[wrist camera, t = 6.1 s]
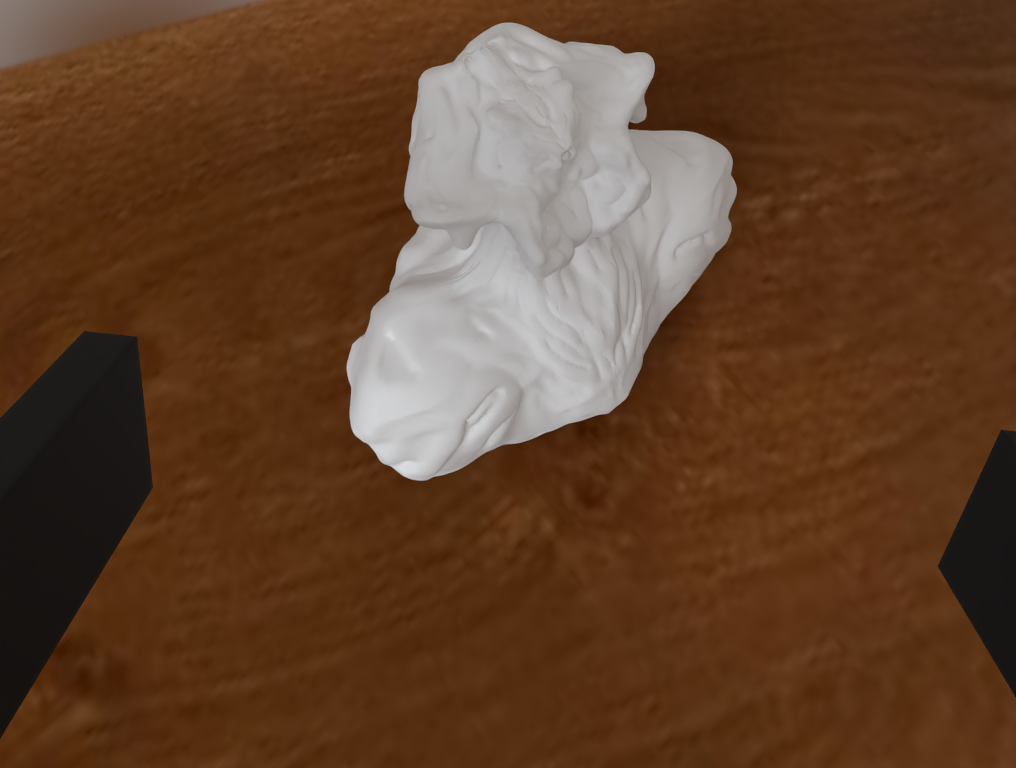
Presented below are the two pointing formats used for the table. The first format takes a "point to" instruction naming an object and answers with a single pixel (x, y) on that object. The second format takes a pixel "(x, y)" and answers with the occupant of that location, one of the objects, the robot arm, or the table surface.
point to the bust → (531, 250)
